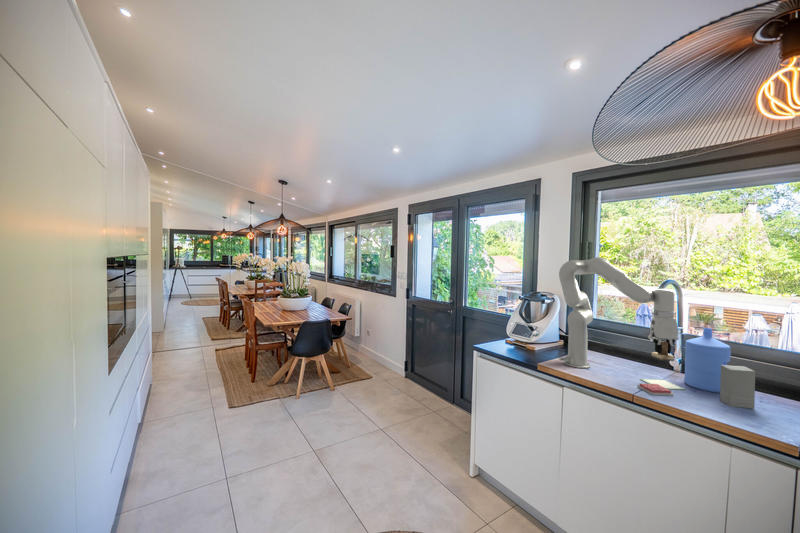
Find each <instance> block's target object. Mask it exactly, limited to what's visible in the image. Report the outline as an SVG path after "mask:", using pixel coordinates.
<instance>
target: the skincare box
mask: <svg viewBox="0 0 800 533" xmlns="http://www.w3.org/2000/svg"><path fill="white" fill-rule="evenodd" d="M719 394H720V396H719V401H721V402H723V403H724V404H725V405H727V406H728V407H735V408H741V409H742V408H743V409H753V410H754V409H755V397H756V371H755V370H753V369H751V368H749V367H748V366H743V365H729V364H727V365H721V383H720V393H719Z"/></svg>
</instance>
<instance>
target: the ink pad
mask: <svg viewBox="0 0 800 533" xmlns="http://www.w3.org/2000/svg"><path fill="white" fill-rule="evenodd" d="M637 388H638V389H640V390H643V391H644V392H645V393H648V394H650V395H651V396H666V397H668V396H671V397H673V396H674V392H672V390H671V389H666V388H664V387H662V386H660V385H658V384H648V383H639V384H638V385H637ZM667 395H668V396H667Z"/></svg>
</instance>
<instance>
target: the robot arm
mask: <svg viewBox="0 0 800 533" xmlns="http://www.w3.org/2000/svg"><path fill="white" fill-rule="evenodd" d="M593 274H595V275H597V276H598V277H599V278H602V279H603V280H605V281H606V282H608V283H609V284H610V285H612V286H613V287H614V288H615V289H617V290H618V291H619V292H621V293H622V294H623V295H624V296H627V297H628V298H629V299H631V300H633V301H634V302H636V303H639V304H647V303H653V311H652V312H651V315H653V316H652V317H651V321H650V326H649V327H650V328H649V335H648V336H647V338H648V339H649V340H650V341H652V342H653V344H654V352H657V353H662V345H660V344H661V341H662V340H664V341H665V342H668V354H670V355H672V354H671V353H672V352H671V351H672V346H673V344H674V343H675V342H676V341H678V340H679V339H680V338H679V330H678V322H677V319H676V318H675V291H674V290H673V289H670V288H669V289H667V288H650V287H643V286H642V285H640V284H638V283H636V282H635V281H633V280H632V279H631V278H630V277H628V276H627V274H626V272H624V270H622V269H620V268H619V267H617V266H615V265H614V264H612V263H610V261H609V260H608V259H607V258H604V257H599V256H597V257H593V258H591V259H582V260H578V259H571V260H568V261H566V262H564V263H563V264H562V265H561V266H560V267H559V272H558V277H559V282H560V285H561V291H562V293H563V297H564V302H565V303H566V305H567V306H568V307H569V308H573V310H572V311H570V312H569V314H568V316H567V324H568V325H567V326H568V335H567V336H568V338H567V339H568V340H567V341H568V344H567V355H565V356H559V358H558V360H559V361H563V362H564V364H565V365H567V366H569V367H573V368H577V369H589V368H591V364H590V363H589V362H588V341H589V340H588V338H589V335H588V325H589V324H591V323H592V322H593V320H594V313H593V311H592V307H591V303H590V300H589V297H588V295H587V294H586V293H585V292H584V291H582V290H580V288H579V283H578V281H577V279H576V276H579V275H580V276H583V275H593Z"/></svg>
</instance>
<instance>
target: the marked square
mask: <svg viewBox="0 0 800 533" xmlns="http://www.w3.org/2000/svg"><path fill="white" fill-rule="evenodd" d="M639 381H642V382H643V383H645V384H658V385H660V386H662V387H664V388H666V389H668V390H670V391H672V389H673V390H676V391H678V390H679V391H685V390H686V389H685V388H684V387H681V386H679V385H677V384H674V383H673V382H671V381H668V380H666V379H658V378H657V379H653V378H639Z"/></svg>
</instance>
